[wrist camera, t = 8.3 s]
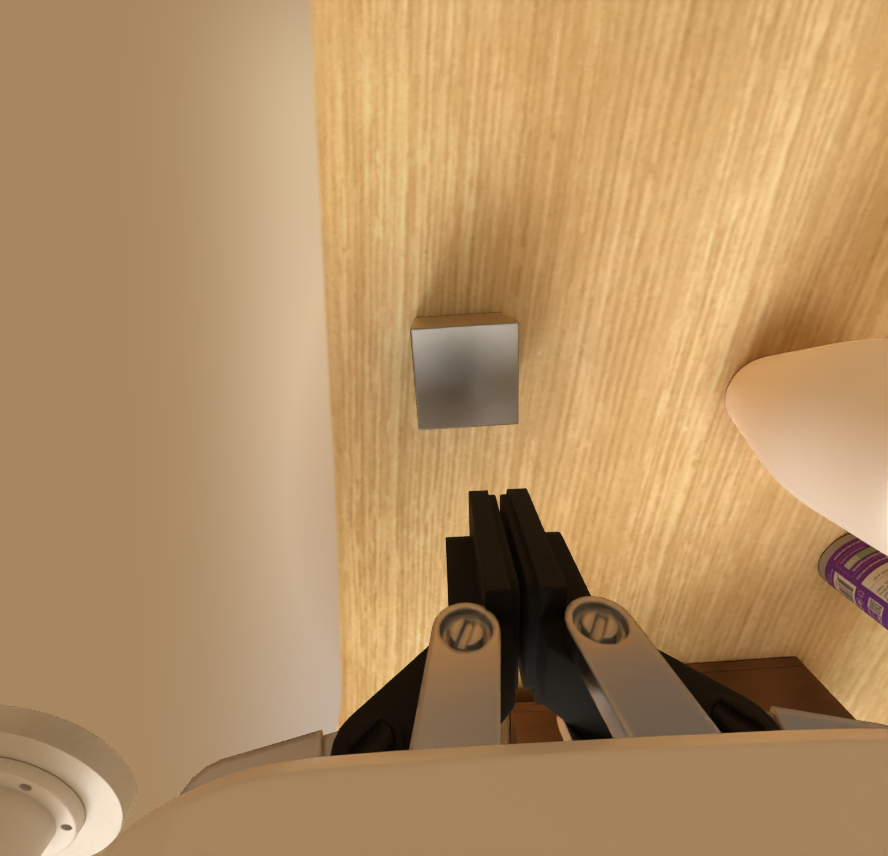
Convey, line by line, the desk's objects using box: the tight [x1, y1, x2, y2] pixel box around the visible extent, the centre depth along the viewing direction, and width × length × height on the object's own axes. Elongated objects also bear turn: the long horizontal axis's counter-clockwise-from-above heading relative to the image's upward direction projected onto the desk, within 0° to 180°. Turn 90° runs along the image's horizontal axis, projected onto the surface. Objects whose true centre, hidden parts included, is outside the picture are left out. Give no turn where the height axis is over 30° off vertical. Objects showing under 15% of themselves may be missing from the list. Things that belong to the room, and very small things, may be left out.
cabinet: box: [685, 657, 856, 720], centre depth 30 cm, size 15×13×10 cm
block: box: [410, 312, 519, 430], centre depth 21 cm, size 5×5×5 cm
